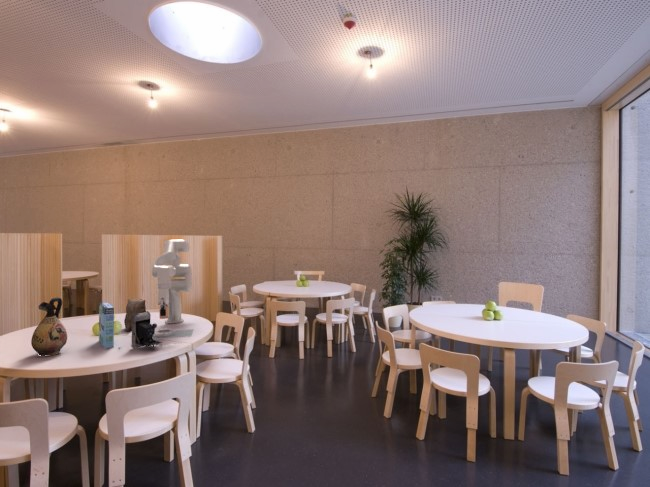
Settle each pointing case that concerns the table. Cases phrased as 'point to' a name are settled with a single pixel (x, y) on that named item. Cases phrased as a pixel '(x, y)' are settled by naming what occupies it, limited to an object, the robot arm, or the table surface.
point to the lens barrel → (164, 332)
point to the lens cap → (166, 313)
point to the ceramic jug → (49, 330)
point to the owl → (133, 311)
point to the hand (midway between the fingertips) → (164, 314)
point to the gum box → (106, 325)
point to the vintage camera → (143, 330)
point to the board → (179, 334)
